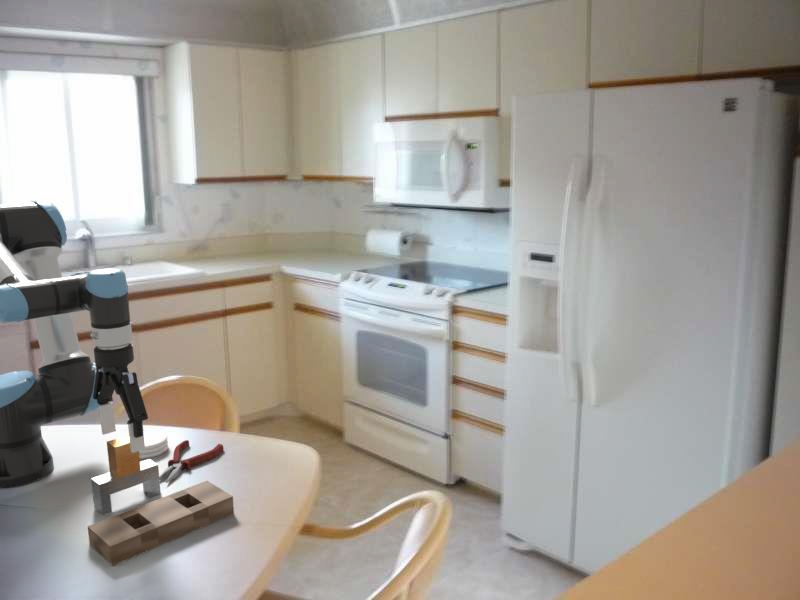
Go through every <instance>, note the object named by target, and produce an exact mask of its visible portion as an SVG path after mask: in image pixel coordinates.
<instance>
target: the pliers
mask: <svg viewBox="0 0 800 600" xmlns="http://www.w3.org/2000/svg"><path fill="white" fill-rule="evenodd" d="M189 447H190V441H189V440H187V439H185V440H183V441H182V442H180V443H178V444H177V445H176V446H175V448H174V450H173V458H172V459H169V460H168V462H167V465H168V466H167V467H166V468H165V470H164V471H163V472H162V473H161V474H159V480H160V481H161V480H164V479H166V478H167V479H166V481H165V483H166V484H168V483H169V482H170V481H172V480H174V479H175V478H176V477H178V476H179V475H180V474H181V472H183V471H187V472H191V468H193V467H197V466H199V465H202V464H205V463H207V462H209V461H212V460H214V459H216V458H218V457H219V456H220V455H221V454H222V453H223V451H224V445H223V444H221V443H217V445H216V446H214V447H213V448H212V449H211V450H208V451H205V452H203V453H200V454H197V455H194V456H192V457H189V458H186V459H182V460H181V461H180V456H181V454H182V452H184V451H185V450H186V449H188V448H189Z"/></svg>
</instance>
